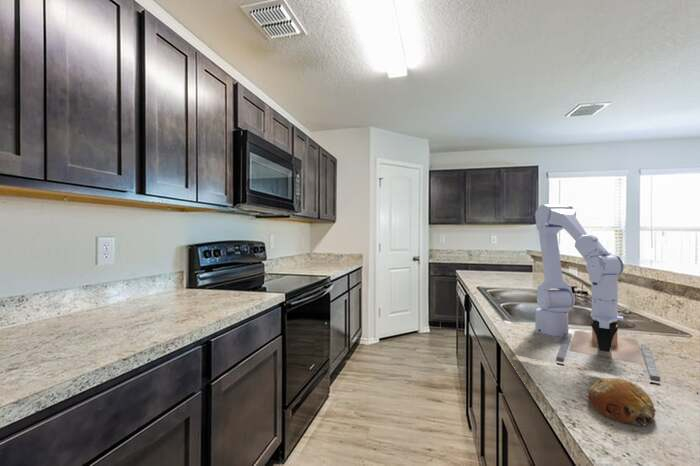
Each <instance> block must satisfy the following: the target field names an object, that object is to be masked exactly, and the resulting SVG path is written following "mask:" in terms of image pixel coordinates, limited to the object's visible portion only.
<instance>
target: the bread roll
mask: <svg viewBox="0 0 700 466" xmlns="http://www.w3.org/2000/svg"><path fill="white" fill-rule="evenodd" d="M587 393H588V396H587V397H588V402H589V405H590V406H591V407H592V408H593V409H594V410H595V411H597V412H598V413H599V414H600V415H602V416H604V417H606V418H608V419H610V418H611V419H610V420H613V421H615V420H616V422H618V421H619V423H622V422H623V423H622V424H626V423H628V424H627V425H633V424H640V425H639V426H645V425H644V424H647V425H649V424H650V423H652V421H654V419H655V416H656V412H657V411H656V409H655V405H654V402H653V400H652V398H651V397H650V396H649V394H648V393H647V392H646V391H645V390H644V389H643V388H642V387H641V386H639V385H637V384H635V383H633V382H632V381H630V380H627V379H624V378H619V377H605V378H603V377H602V378H601V379H597V380H596V381H595V382H594V383H592V385H590V386H589V389H588V392H587Z"/></svg>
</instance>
